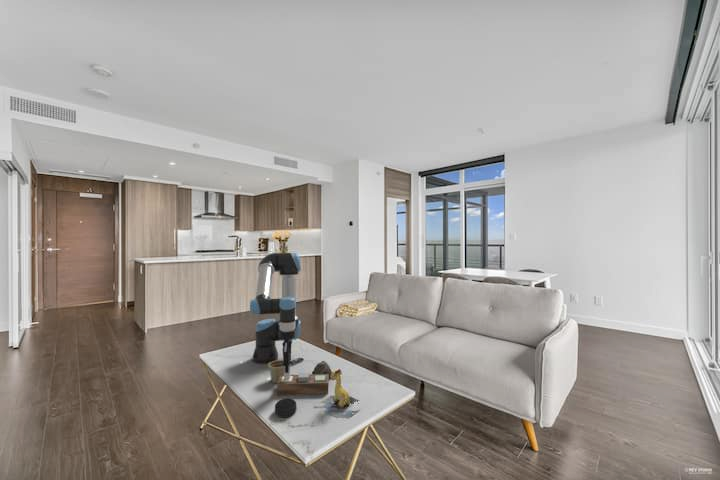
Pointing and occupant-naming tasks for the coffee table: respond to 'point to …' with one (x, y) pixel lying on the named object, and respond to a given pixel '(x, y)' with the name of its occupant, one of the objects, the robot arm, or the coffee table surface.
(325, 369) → the fossil
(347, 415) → the stuffed giraffe
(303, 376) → the slate grey key
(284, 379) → the cream key
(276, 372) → the flower pot
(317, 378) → the sage green key
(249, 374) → the coffee table surface
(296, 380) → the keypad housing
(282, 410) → the smart speaker
